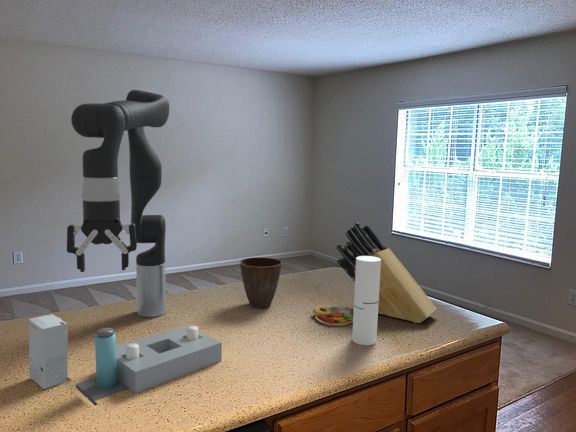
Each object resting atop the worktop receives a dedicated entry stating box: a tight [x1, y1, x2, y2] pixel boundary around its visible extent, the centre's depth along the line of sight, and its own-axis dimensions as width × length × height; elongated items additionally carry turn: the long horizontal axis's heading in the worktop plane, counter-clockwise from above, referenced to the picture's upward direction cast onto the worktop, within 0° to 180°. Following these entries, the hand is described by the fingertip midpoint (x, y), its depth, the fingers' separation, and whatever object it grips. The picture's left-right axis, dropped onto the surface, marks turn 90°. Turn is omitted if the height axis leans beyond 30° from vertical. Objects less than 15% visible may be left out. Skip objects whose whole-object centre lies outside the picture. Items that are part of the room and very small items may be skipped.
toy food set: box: [312, 305, 353, 327], centre depth 157 cm, size 13×13×3 cm
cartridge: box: [94, 327, 117, 389], centre depth 107 cm, size 4×4×13 cm
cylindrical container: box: [351, 256, 381, 346], centre depth 138 cm, size 7×7×25 cm
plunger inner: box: [187, 325, 199, 341], centre depth 124 cm, size 3×3×7 cm
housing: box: [116, 324, 223, 394], centre depth 119 cm, size 16×24×6 cm, turn 136°
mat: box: [75, 376, 130, 406], centre depth 108 cm, size 10×10×1 cm
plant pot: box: [239, 256, 283, 309], centre depth 168 cm, size 15×15×16 cm
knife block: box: [335, 222, 438, 324], centre depth 165 cm, size 11×35×31 cm, turn 55°
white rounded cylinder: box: [126, 343, 139, 361], centre depth 112 cm, size 3×3×7 cm
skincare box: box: [28, 313, 69, 390], centre depth 111 cm, size 8×6×15 cm
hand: (103, 270), depth 104 cm, fingers open, 8 cm apart
